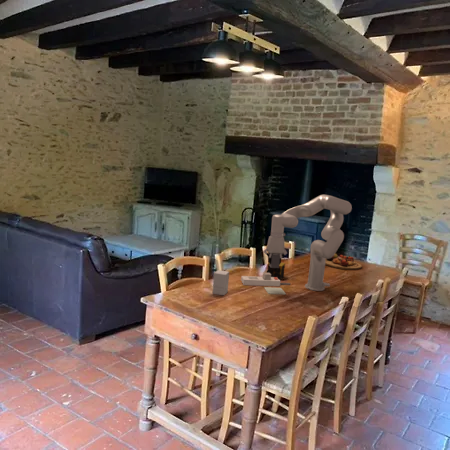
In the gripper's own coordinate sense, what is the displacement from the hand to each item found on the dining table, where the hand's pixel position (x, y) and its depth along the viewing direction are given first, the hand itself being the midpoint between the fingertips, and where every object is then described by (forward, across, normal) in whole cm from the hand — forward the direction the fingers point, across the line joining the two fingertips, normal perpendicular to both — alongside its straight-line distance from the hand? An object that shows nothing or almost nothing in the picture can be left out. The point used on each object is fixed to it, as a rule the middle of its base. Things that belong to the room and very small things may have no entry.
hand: (274, 263), depth 258 cm
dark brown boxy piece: (+18, -8, -28) cm, 34 cm away
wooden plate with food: (+19, -73, -72) cm, 105 cm away
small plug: (+15, +1, -12) cm, 19 cm away
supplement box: (+17, +34, +10) cm, 39 cm away
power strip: (+17, +1, -12) cm, 21 cm away
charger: (+2, 0, 0) cm, 2 cm away
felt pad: (+17, -1, +2) cm, 17 cm away
